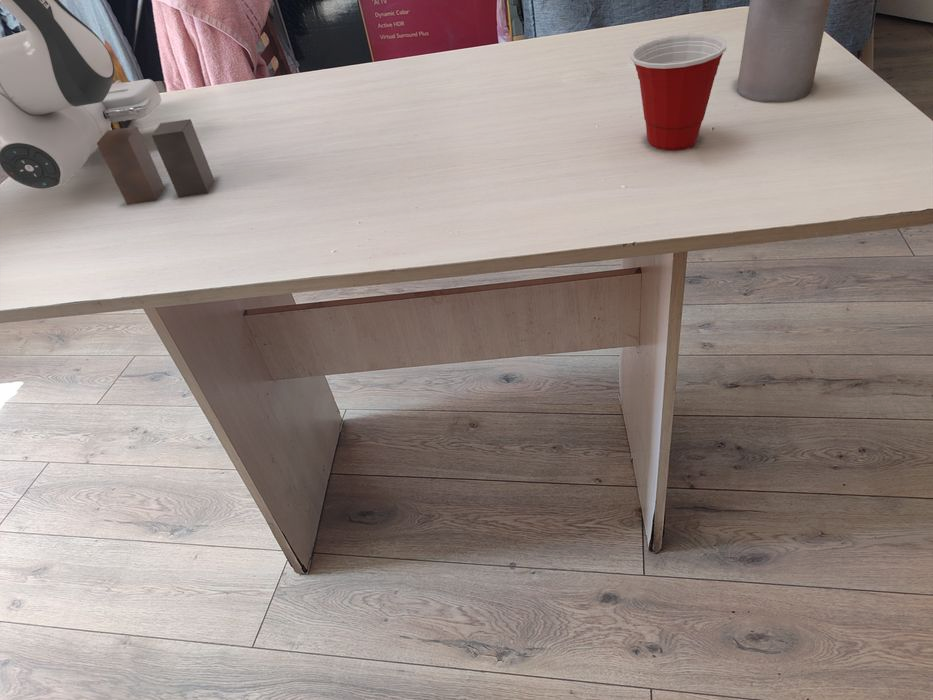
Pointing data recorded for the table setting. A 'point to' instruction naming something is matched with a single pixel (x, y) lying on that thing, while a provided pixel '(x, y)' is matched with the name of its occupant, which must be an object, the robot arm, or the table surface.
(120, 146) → the walnut block
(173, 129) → the dark gray block
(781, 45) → the pillar candle
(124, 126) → the ammunition clip
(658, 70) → the plastic cup
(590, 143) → the table surface
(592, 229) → the table surface
